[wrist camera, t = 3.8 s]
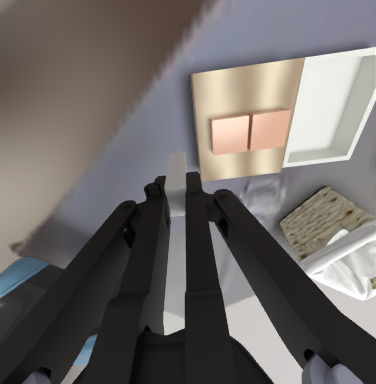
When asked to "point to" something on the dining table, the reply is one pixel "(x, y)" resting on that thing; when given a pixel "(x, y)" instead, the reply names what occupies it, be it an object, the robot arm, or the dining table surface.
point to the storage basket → (334, 243)
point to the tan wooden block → (242, 103)
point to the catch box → (331, 107)
